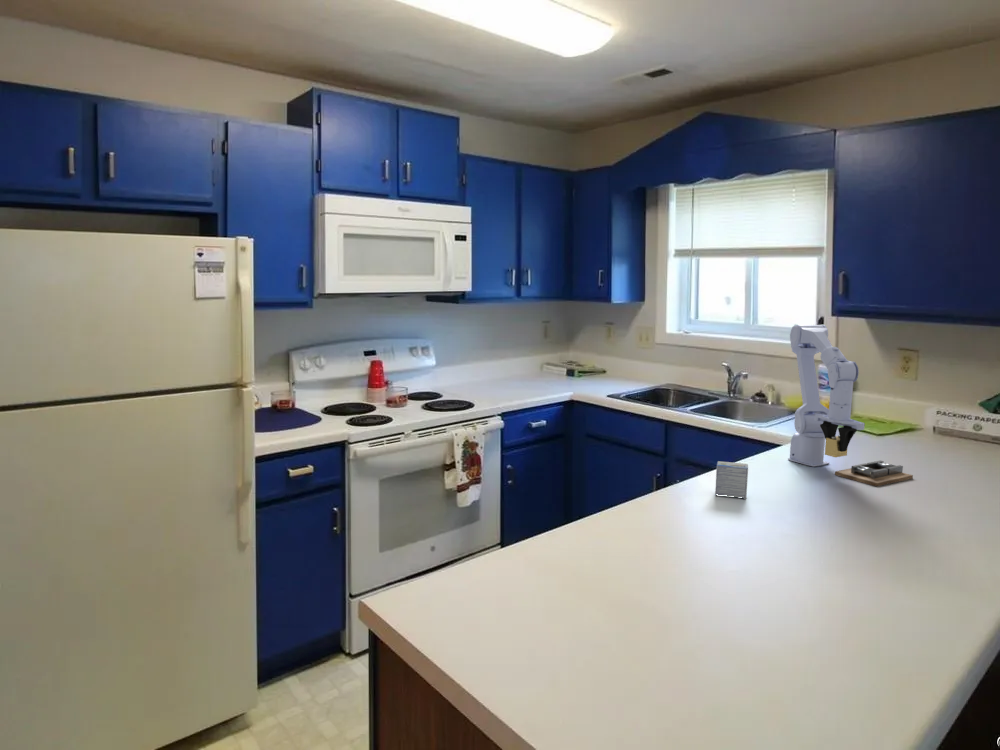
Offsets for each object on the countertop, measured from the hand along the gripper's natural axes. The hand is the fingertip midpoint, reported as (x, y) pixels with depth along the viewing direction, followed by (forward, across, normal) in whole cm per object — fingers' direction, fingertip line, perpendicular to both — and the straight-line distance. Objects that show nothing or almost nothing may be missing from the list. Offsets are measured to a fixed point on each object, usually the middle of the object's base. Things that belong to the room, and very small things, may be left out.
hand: (836, 449), depth 198 cm
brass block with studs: (+2, 0, 0) cm, 2 cm away
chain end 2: (+7, +4, +16) cm, 19 cm away
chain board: (+8, +5, +11) cm, 15 cm away
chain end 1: (+7, +5, +9) cm, 13 cm away
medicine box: (+9, -1, -40) cm, 41 cm away
